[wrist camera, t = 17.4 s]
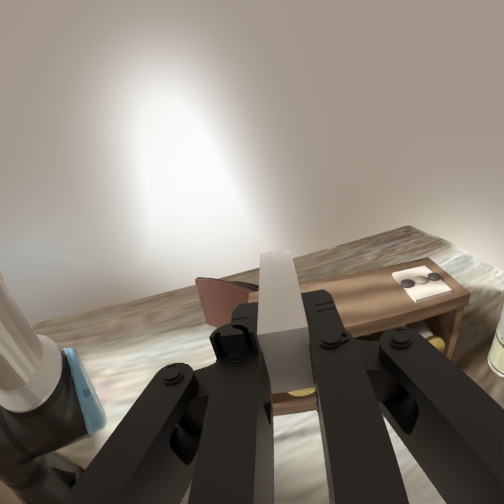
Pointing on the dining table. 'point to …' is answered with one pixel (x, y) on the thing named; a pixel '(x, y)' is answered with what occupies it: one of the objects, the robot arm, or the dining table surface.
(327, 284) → the box
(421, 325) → the button
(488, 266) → the dining table surface
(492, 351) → the coffee can
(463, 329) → the dining table surface
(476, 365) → the dining table surface
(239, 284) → the letter holder
